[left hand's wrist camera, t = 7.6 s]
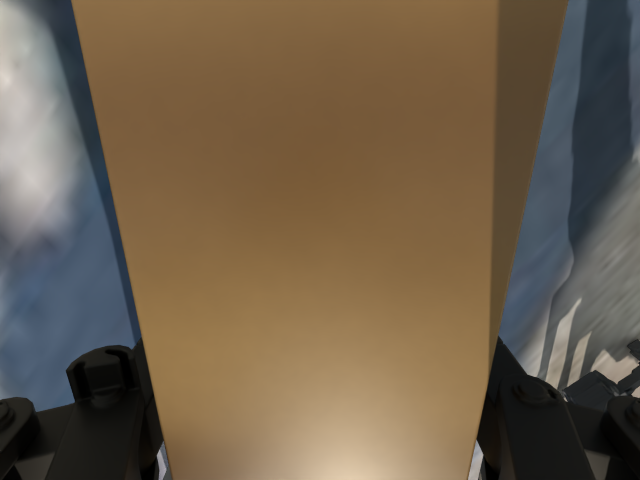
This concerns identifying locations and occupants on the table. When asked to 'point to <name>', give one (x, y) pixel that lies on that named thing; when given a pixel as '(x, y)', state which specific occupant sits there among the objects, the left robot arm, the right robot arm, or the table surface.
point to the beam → (319, 219)
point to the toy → (603, 386)
